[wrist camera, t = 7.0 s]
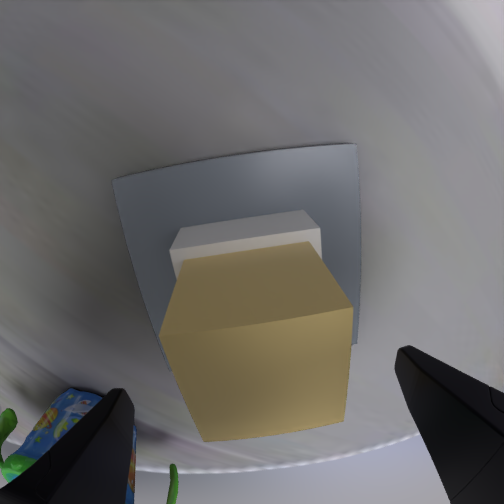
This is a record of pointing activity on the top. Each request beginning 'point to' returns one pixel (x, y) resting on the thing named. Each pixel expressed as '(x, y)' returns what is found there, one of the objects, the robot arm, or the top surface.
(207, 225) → the white brick
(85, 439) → the robot arm
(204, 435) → the ochre brick
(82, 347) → the top surface
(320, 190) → the baseplate
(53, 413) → the snack cup
